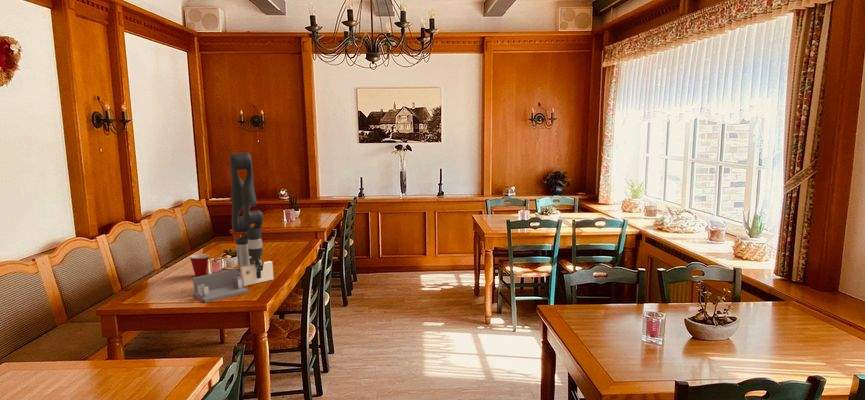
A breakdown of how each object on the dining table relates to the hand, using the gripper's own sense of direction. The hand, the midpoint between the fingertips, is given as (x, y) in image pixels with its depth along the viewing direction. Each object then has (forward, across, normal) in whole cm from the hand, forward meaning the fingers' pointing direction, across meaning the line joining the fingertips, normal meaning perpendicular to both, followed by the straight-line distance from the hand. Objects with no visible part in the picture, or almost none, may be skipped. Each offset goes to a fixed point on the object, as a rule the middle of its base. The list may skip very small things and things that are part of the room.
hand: (257, 277), depth 288 cm
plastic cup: (+3, +39, +17) cm, 43 cm away
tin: (+3, +11, +10) cm, 15 cm away
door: (+3, 0, 0) cm, 3 cm away
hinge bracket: (+3, -6, +22) cm, 23 cm away
